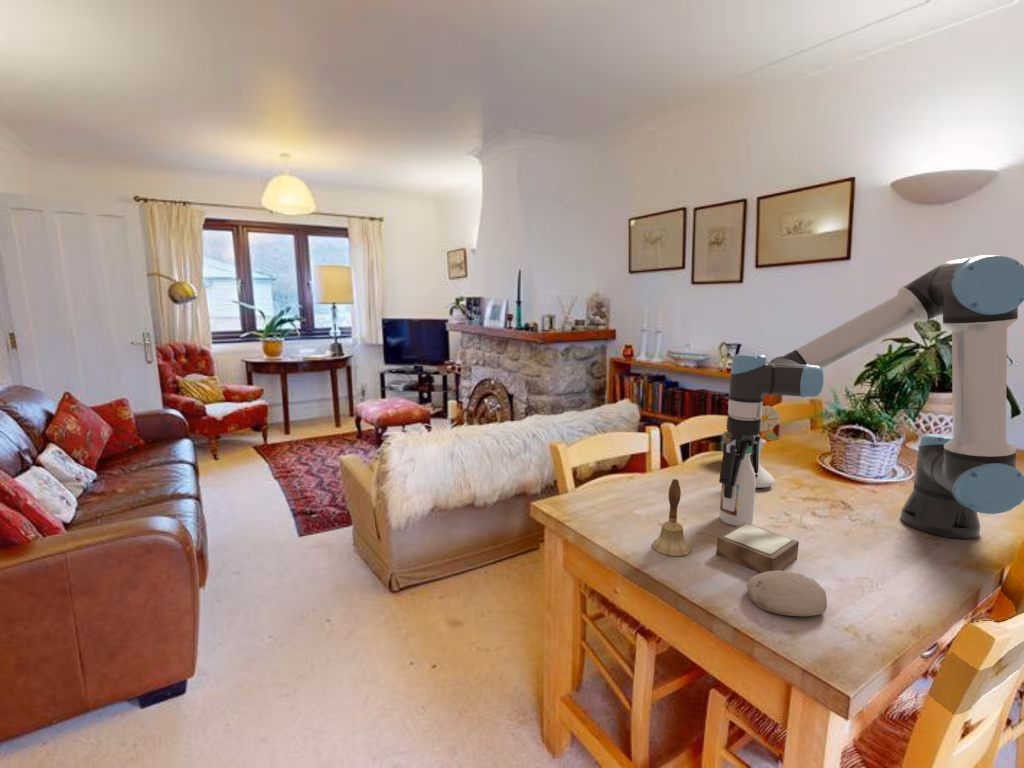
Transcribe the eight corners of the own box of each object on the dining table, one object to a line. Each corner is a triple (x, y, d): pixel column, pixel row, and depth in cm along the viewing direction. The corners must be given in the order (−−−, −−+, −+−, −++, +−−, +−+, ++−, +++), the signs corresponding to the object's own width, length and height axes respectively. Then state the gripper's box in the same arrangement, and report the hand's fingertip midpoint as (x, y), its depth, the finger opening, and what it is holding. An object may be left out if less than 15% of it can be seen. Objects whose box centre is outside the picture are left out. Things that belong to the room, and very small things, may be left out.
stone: (747, 623, 96) (746, 604, 91) (747, 574, 103) (746, 553, 98) (827, 636, 91) (831, 616, 86) (821, 583, 97) (824, 561, 92)
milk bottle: (746, 515, 133) (752, 440, 130) (757, 528, 125) (764, 449, 122) (715, 513, 134) (720, 439, 131) (724, 526, 126) (730, 448, 123)
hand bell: (648, 538, 120) (651, 473, 117) (684, 539, 120) (688, 474, 117) (657, 556, 112) (661, 486, 109) (695, 557, 111) (700, 487, 109)
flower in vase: (724, 480, 159) (730, 401, 155) (753, 476, 163) (759, 398, 158) (757, 495, 147) (765, 410, 142) (787, 490, 150) (795, 407, 146)
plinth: (797, 558, 111) (799, 540, 110) (771, 577, 103) (773, 557, 103) (743, 538, 120) (744, 521, 119) (716, 554, 113) (717, 536, 112)
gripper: (749, 408, 134) (742, 491, 138) (707, 420, 122) (701, 510, 125) (778, 413, 129) (770, 500, 132) (738, 426, 116) (730, 521, 120)
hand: (736, 505), depth 129 cm, fingers closed on milk bottle, 8 cm apart
